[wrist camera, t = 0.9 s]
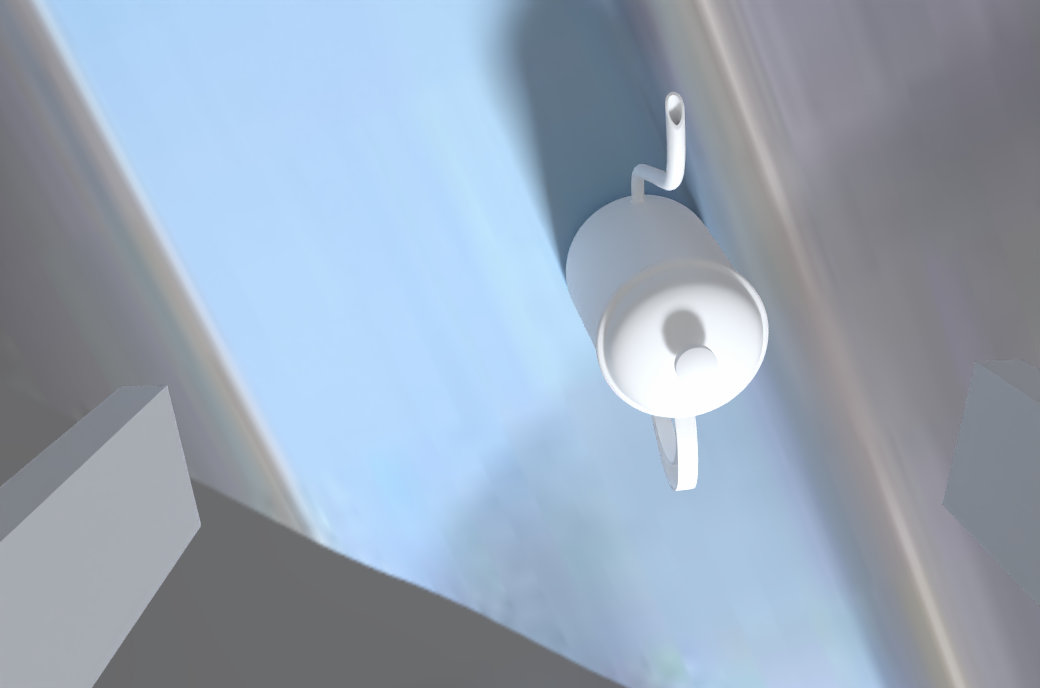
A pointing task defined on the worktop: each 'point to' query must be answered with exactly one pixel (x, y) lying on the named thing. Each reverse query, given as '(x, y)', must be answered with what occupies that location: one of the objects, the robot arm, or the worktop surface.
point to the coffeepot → (665, 307)
